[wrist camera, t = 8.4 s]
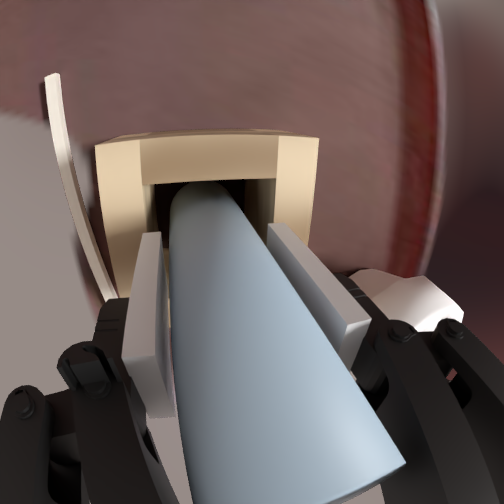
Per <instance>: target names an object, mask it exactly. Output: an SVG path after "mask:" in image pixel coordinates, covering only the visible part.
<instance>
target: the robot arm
mask: <svg viewBox="0 0 504 504" xmlns="http://www.w3.org/2000/svg"><path fill="white" fill-rule="evenodd" d="M266 247H267V249H268V250H269V252H270V253H271V255H272V256H273V258H274V259H275V261H276V262H277V264H278V265H279V267H280V268H281V270H282V271H283V273H284V274H285V276H286V277H287V279H288V280H289V282H290V283H291V285H292V286H293V288H294V289H295V291H296V292H297V294H298V295H299V297H300V298H301V300H302V301H303V303H304V304H305V306H306V307H307V309H308V310H309V312H310V313H311V315H312V316H313V318H314V319H315V321H316V322H317V324H318V325H319V327H320V328H321V330H322V331H323V333H324V334H325V336H326V337H327V339H328V341H329V342H330V344H331V345H332V347H333V348H334V350H335V351H336V353H337V354H338V356H339V357H340V359H341V360H342V362H343V364H344V365H345V367H346V368H347V370H348V371H349V373H350V372H351V371H352V373H353V375H354V376H355V378H356V381H355V382H356V384H357V385H358V387H359V388H360V390H361V392H362V393H363V395H364V396H365V398H366V399H367V401H368V403H369V404H370V406H371V407H372V409H373V410H374V412H375V414H376V415H377V417H378V418H379V420H380V421H381V423H382V425H383V426H384V428H385V429H386V431H387V433H388V434H389V436H390V437H391V439H392V441H393V442H394V444H395V445H396V447H397V449H398V450H399V452H400V453H401V455H402V457H403V458H404V460H405V462H406V465H405V466H404V467H403V468H401V469H400V470H399V471H398V472H396V473H395V474H393V475H392V476H391V477H389V478H388V479H386V480H384V481H383V482H381V483H380V485H381V489H382V493H383V497H384V501H385V504H504V365H503V364H502V363H501V362H500V360H499V359H498V358H497V357H496V356H495V355H494V354H493V353H492V352H491V351H490V350H489V349H488V348H487V347H486V346H485V345H484V344H483V343H482V342H481V341H480V340H479V339H478V338H477V337H476V336H475V335H474V334H473V333H472V332H471V331H470V330H469V329H468V328H467V327H466V326H464V325H463V324H462V323H461V322H459V321H457V320H455V319H450V318H445V319H441V320H440V321H439V322H438V324H437V326H436V328H435V330H434V331H425V332H418V331H417V330H416V329H415V328H414V327H413V326H412V325H410V324H408V323H407V322H404V321H401V320H394V319H391V320H389V319H388V318H387V316H386V315H385V314H384V313H383V312H382V311H381V310H380V309H379V308H378V307H377V306H376V305H375V303H374V302H373V301H372V300H371V299H370V298H369V297H368V296H366V294H365V293H364V292H363V291H362V290H360V287H359V286H358V285H357V284H356V283H355V282H354V281H353V280H352V279H350V278H348V277H347V276H345V275H343V274H341V273H336V274H332V273H331V272H330V271H329V270H328V269H327V268H326V266H325V265H324V264H323V263H322V262H321V261H320V260H319V259H318V258H317V257H316V256H315V255H314V253H313V252H312V251H311V250H310V249H309V248H308V247H307V246H306V245H305V244H304V243H303V242H302V241H301V240H300V238H299V237H298V236H297V235H296V234H295V233H294V232H293V231H292V230H291V229H290V228H289V227H288V226H287V225H286V224H285V223H270V224H268V230H267V246H266ZM453 368H454V369H455V371H456V372H457V374H456V376H455V377H454V378H453V380H451V381H450V380H447V379H446V377H447V376H448V374H449V373H450V371H451V370H452V369H453ZM57 369H58V371H59V373H60V374H61V376H62V377H63V379H64V381H65V382H66V384H67V385H68V386H69V389H67V390H64V391H61V392H57V393H54V394H49V395H46V396H44V395H43V394H42V392H40V391H39V390H38V389H37V388H36V387H33V386H30V385H25V386H20V387H18V388H16V389H14V390H13V391H12V392H11V393H10V394H9V395H8V398H7V400H6V402H5V404H4V408H3V412H2V415H1V419H0V504H90V503H91V504H179V502H178V500H177V497H176V495H175V493H174V491H173V489H172V486H171V484H170V482H169V479H168V477H167V475H166V472H165V470H164V467H163V465H162V462H161V460H160V457H159V455H158V452H157V449H156V447H155V444H154V442H153V438H152V436H151V432H150V431H149V429H148V427H147V426H146V412H147V414H148V416H149V418H167V417H175V416H176V415H175V406H174V396H173V385H172V373H171V358H170V341H169V315H168V284H167V277H166V270H165V262H164V254H163V246H162V237H161V232H150V233H143V235H142V239H141V243H140V248H139V252H138V257H137V262H136V266H135V271H134V276H133V282H132V287H131V293H130V297H126V298H113V299H108V300H107V301H106V303H105V304H104V305H103V306H102V308H101V309H100V312H99V316H98V319H97V323H96V327H95V332H94V336H93V340H92V341H86V342H85V341H84V342H80V343H77V344H74V345H72V346H71V347H69V348H68V349H66V350H65V351H64V352H63V354H62V355H61V356H60V358H59V360H58V364H57ZM89 499H90V501H89Z"/></svg>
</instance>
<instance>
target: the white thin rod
mask: <svg viewBox="0 0 504 504" xmlns="http://www.w3.org/2000/svg"><path fill="white" fill-rule="evenodd" d="M45 87H46V97H47V105H48V113H49V120H50V126H51V132H52V138H53V143H54V148H55V153H56V157H57V162H58V166H59V171H60V175H61V178H62V183H63V186H64V190H65V194H66V197H67V201H68V204H69V207H70V210H71V214H72V217H73V220H74V223H75V226H76V229H77V232H78V235H79V238H80V241H81V244H82V246H83V249H84V252H85V254H86V257H87V259H88V262H89V265H90V267H91V270H92V272H93V274H94V277H95V279H96V281H97V284H98V286H99V288H100V291H101V293H102V295H103V297H104V299H105V302H106V301H107V300H108V299H113V298H118V297H117V295H116V292H115V290H114V287H113V285H112V283H111V280H110V278H109V275H108V273H107V270H106V268H105V265H104V262H103V260H102V257H101V254H100V252H99V249H98V246H97V243H96V240H95V237H94V234H93V231H92V228H91V225H90V222H89V219H88V216H87V212H86V209H85V206H84V202H83V199H82V195H81V191H80V188H79V184H78V180H77V176H76V172H75V168H74V163H73V159H72V154H71V149H70V144H69V139H68V134H67V128H66V122H65V115H64V108H63V101H62V92H61V82H60V74H58V73H54V74H51V75H49V76H47V77H45Z"/></svg>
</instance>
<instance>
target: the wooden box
mask: <svg viewBox="0 0 504 504" xmlns="http://www.w3.org/2000/svg"><path fill="white" fill-rule="evenodd" d="M318 144H319V138H315V137H311V136H306V135H301V134H296V133H291V132H286V131H280V130H268V129H195V130H176V131H162V132H150V133H140V134H131V135H123V136H119V137H116V138H113V139H111V140H108V141H105V142H103V143H100V144H97V145H95V154H96V166H97V176H98V186H99V194H100V201H101V208H102V215H103V221H104V227H105V233H106V238H107V244H108V249H109V254H110V258H111V263H112V267H113V272H114V276H115V280H116V284H117V288H118V292H119V296H120V298H126V297H130V293H131V287H132V282H133V276H134V271H135V266H136V262H137V257H138V252H139V248H140V243H141V239H142V235H143V233H150V232H158V222H157V212H156V200H155V187H154V184H162V183H174V182H189V181H205V180H227V179H245V210H244V215H245V216H246V218H247V219H248V221H249V222H250V224H251V225H252V227H253V228H254V230H255V231H256V233H257V234H258V236H259V237H260V238H261V240H262V241H263V243H264V244H265V246H267V230H268V224H270V223H285V224H286V225H287V226H288V227H289V228H290V229H291V230H292V231H293V232H294V233H295V234H296V235H297V236H298V237H299V238H300V240H301V241H302V242H303V243H304V244H305V245H306V246H308V239H309V231H310V223H311V215H312V206H313V197H314V187H315V178H316V167H317V156H318ZM163 254H164V262H165V270H166V277H167V284H168V315H169V328H170V327H171V326H170V300H169V248H163Z"/></svg>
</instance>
